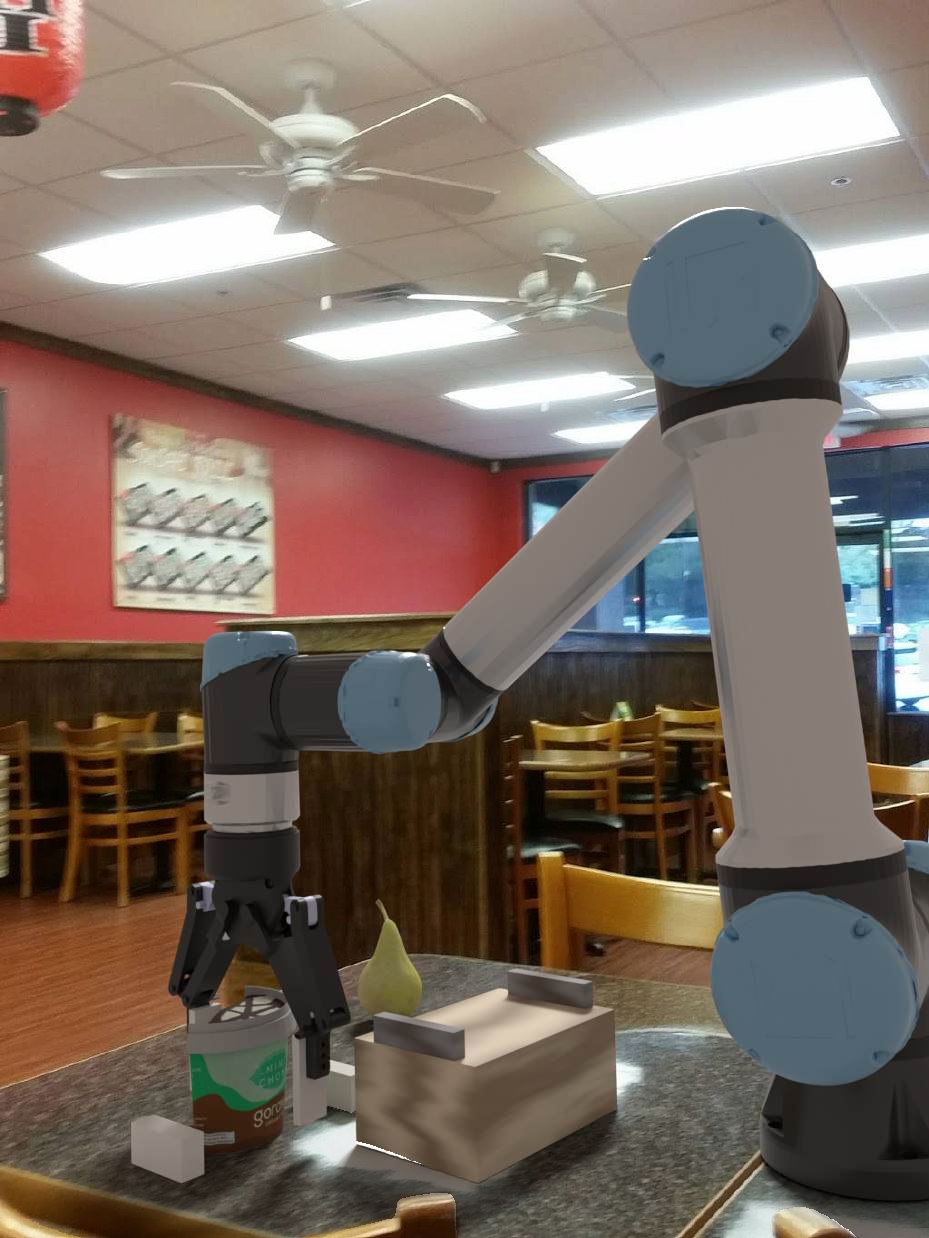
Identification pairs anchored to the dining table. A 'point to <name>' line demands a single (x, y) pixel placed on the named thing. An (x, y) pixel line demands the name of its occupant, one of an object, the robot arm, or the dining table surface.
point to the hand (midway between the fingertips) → (256, 1102)
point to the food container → (241, 1072)
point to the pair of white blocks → (183, 1147)
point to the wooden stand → (487, 1075)
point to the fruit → (389, 976)
